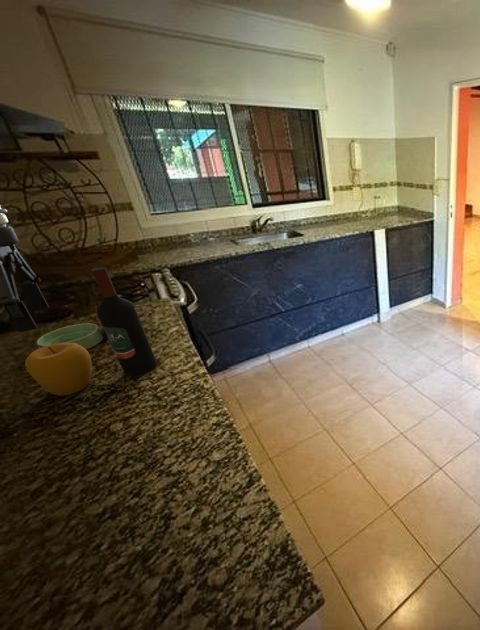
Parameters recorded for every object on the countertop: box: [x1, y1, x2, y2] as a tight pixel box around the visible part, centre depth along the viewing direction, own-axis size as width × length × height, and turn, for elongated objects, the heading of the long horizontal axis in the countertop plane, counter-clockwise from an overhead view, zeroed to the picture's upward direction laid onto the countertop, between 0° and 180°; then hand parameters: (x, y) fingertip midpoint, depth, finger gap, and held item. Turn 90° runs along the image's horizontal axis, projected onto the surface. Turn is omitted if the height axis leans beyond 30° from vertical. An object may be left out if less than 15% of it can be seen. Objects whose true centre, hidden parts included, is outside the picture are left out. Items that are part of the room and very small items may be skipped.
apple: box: [24, 343, 93, 397], centre depth 86 cm, size 11×11×13 cm
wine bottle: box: [90, 266, 159, 377], centre depth 90 cm, size 8×8×30 cm
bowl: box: [36, 323, 104, 350], centre depth 107 cm, size 14×14×4 cm
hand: (35, 318), depth 80 cm, fingers open, 13 cm apart
